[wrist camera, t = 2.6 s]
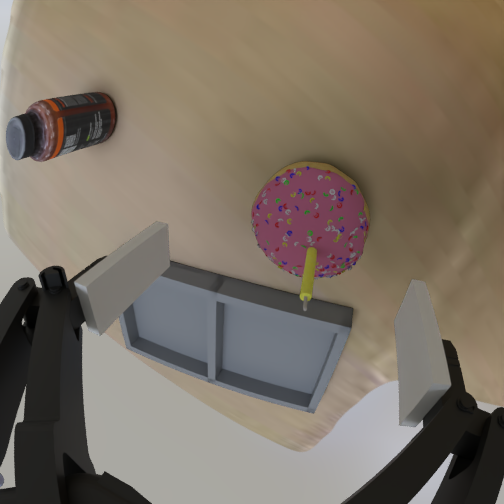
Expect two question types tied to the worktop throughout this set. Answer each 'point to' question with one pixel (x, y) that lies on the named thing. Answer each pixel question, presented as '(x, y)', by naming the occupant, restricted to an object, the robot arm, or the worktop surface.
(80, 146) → the supplement bottle
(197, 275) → the grey divided tray
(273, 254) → the cupcake
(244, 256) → the worktop surface
